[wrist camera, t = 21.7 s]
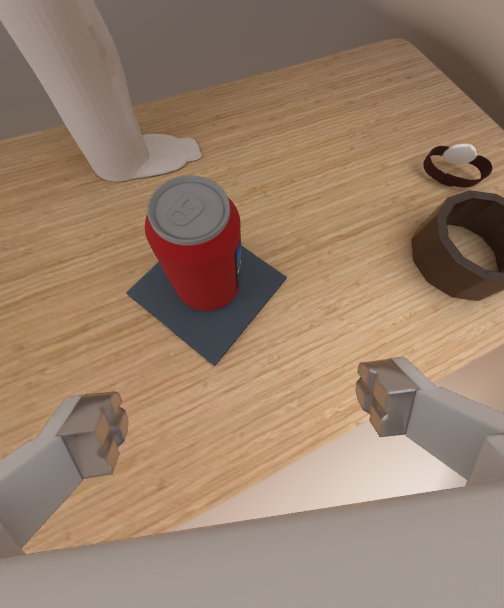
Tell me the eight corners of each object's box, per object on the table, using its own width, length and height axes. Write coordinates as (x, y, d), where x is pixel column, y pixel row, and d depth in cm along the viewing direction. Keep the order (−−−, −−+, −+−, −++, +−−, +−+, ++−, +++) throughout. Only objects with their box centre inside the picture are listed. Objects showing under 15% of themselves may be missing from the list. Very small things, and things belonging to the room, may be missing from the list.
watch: (479, 170, 37) (503, 146, 34) (477, 196, 35) (502, 174, 32) (421, 154, 38) (439, 129, 34) (417, 179, 36) (436, 155, 33)
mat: (214, 366, 27) (214, 365, 26) (127, 294, 29) (125, 292, 29) (286, 278, 30) (286, 277, 30) (203, 221, 32) (203, 218, 32)
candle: (205, 167, 35) (165, -102, 17) (93, 186, 34) (-91, -90, 15) (195, 128, 38) (149, -146, 19) (90, 144, 36) (-73, -139, 17)
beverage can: (253, 281, 29) (261, 203, 18) (210, 327, 28) (188, 272, 16) (207, 245, 31) (188, 152, 20) (163, 286, 29) (113, 209, 18)
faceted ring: (486, 318, 29) (526, 303, 25) (396, 262, 31) (420, 239, 27) (518, 250, 33) (559, 227, 28) (435, 203, 35) (462, 175, 30)
